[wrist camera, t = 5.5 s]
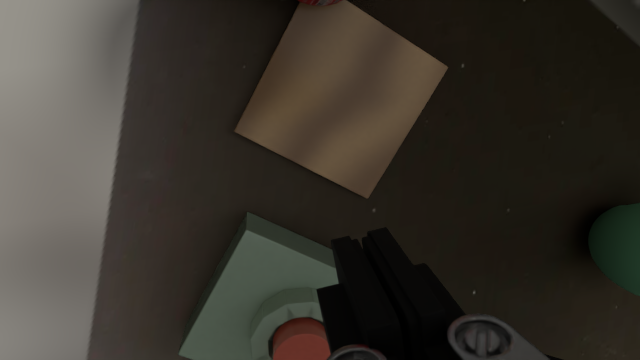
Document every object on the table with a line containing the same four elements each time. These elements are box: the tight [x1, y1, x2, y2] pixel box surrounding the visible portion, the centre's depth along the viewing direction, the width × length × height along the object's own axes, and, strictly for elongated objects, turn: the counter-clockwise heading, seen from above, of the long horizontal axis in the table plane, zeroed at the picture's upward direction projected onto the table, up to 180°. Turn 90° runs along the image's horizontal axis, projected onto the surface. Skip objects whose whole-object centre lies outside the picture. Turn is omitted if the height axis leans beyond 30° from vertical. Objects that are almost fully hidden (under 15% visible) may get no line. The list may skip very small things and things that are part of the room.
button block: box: [178, 212, 339, 360], centre depth 30 cm, size 14×11×5 cm
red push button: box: [272, 317, 331, 360], centre depth 27 cm, size 4×4×2 cm
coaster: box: [234, 0, 448, 199], centre depth 28 cm, size 11×11×1 cm
